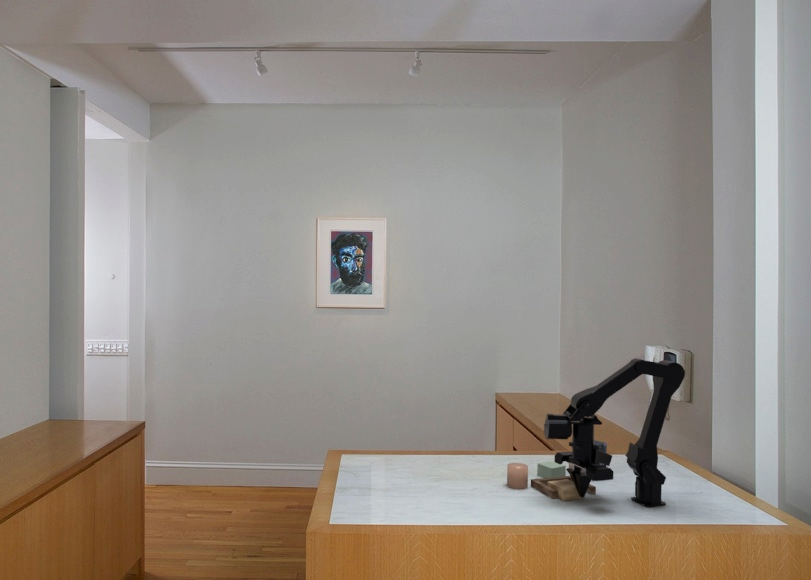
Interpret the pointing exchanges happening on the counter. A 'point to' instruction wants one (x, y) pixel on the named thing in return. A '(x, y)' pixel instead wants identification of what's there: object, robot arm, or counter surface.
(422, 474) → the counter surface
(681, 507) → the counter surface
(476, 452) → the counter surface
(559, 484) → the oak block
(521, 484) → the tan round cylinder
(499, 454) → the counter surface
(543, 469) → the matte sage squarish block
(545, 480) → the walnut bay
